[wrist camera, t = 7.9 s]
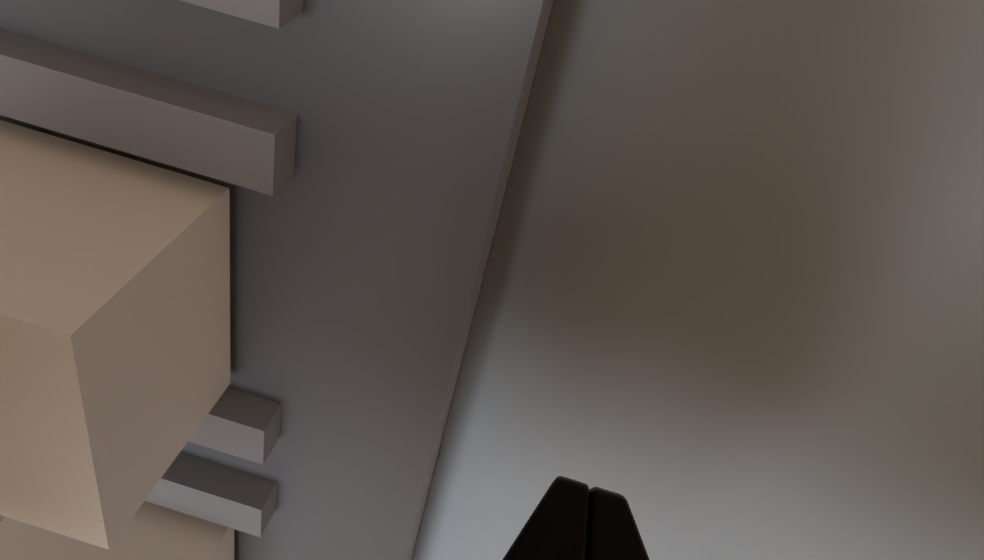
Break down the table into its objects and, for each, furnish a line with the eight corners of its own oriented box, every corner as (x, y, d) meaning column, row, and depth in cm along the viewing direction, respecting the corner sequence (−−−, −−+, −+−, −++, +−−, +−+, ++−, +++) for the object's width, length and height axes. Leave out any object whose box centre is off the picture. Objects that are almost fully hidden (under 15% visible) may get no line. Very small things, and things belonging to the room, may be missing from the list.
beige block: (229, 188, 9) (71, 336, 7) (230, 383, 11) (108, 550, 9) (-30, 111, 9) (-277, 229, 7) (18, 317, 11) (-160, 463, 9)
